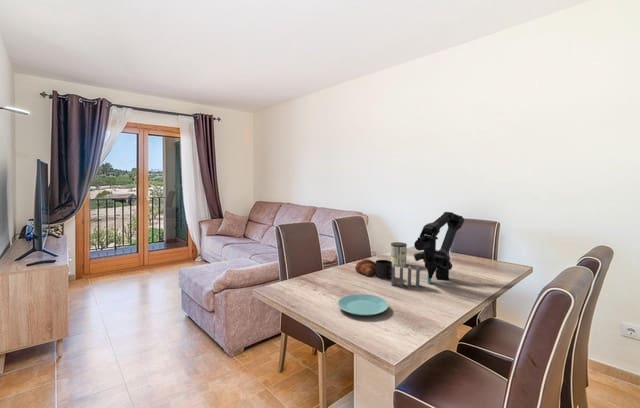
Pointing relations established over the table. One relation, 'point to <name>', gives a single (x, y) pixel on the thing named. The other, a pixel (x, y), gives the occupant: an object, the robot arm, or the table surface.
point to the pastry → (366, 267)
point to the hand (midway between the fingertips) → (429, 275)
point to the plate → (363, 304)
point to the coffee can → (398, 253)
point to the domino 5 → (428, 279)
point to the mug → (383, 269)
